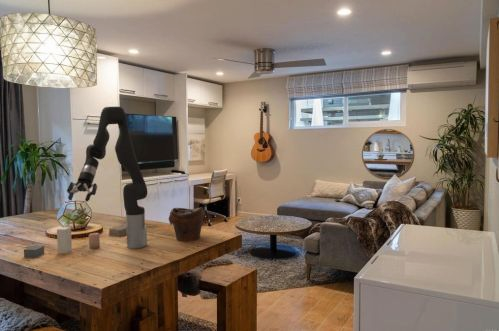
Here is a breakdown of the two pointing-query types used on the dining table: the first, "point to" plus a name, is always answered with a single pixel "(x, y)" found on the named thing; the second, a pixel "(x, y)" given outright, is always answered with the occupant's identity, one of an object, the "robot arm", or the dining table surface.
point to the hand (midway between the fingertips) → (78, 200)
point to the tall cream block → (64, 240)
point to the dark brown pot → (187, 223)
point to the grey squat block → (33, 251)
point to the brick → (118, 230)
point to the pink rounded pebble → (94, 240)
